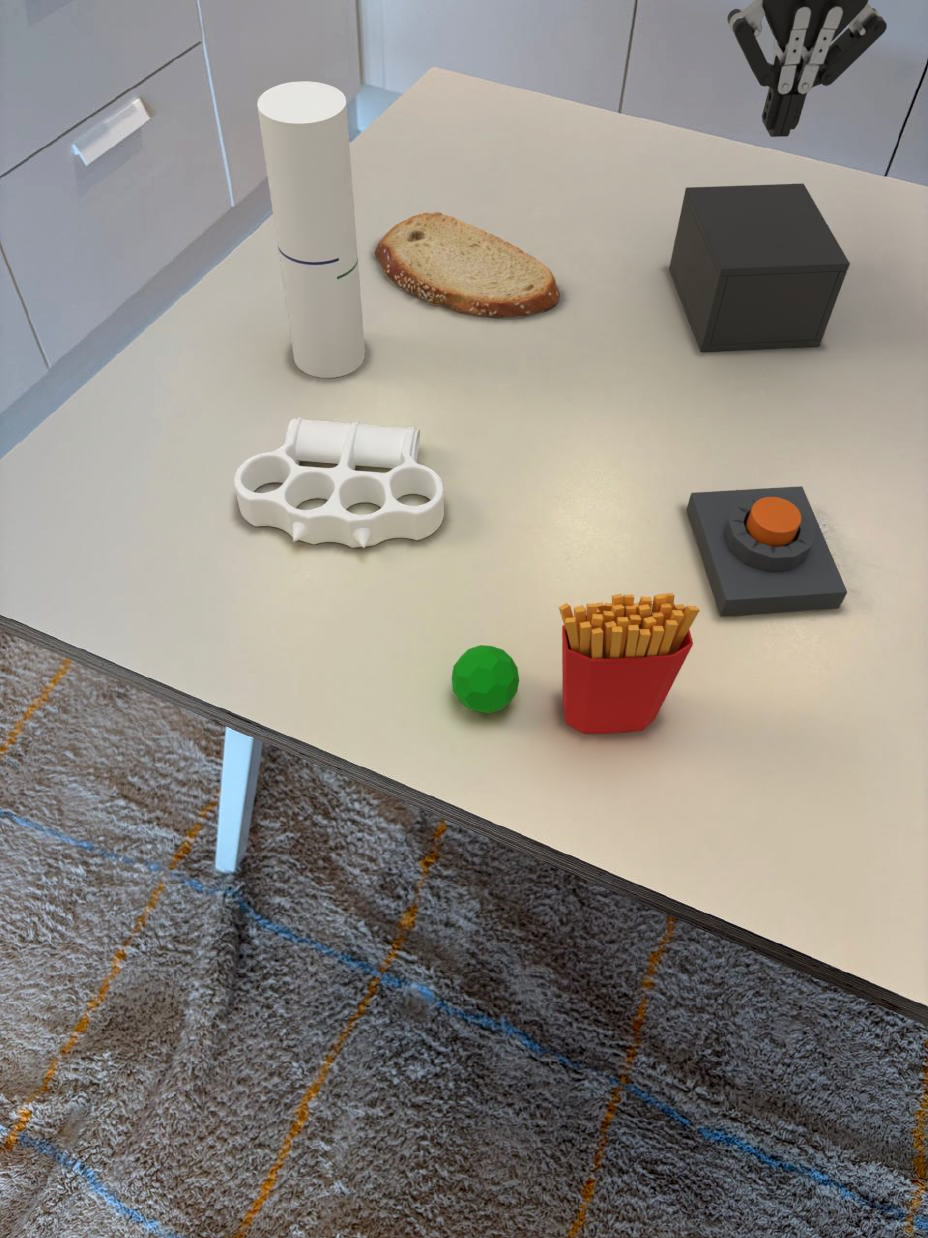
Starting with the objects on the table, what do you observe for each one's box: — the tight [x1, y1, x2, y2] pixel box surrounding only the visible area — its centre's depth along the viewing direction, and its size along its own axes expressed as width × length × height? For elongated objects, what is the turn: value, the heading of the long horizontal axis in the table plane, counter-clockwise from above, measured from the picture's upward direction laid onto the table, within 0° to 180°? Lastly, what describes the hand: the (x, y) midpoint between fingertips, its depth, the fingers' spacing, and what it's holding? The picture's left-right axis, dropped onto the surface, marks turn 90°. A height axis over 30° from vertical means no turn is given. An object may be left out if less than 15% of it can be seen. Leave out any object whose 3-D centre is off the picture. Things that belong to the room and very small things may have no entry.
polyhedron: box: [451, 644, 520, 714], centre depth 74 cm, size 5×5×5 cm
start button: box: [747, 497, 801, 546], centre depth 81 cm, size 4×4×2 cm
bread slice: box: [374, 211, 561, 319], centre depth 108 cm, size 18×18×4 cm
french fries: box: [558, 592, 701, 735], centre depth 70 cm, size 9×4×13 cm, turn 94°
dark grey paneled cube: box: [668, 183, 851, 353], centre depth 103 cm, size 15×13×10 cm
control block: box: [686, 485, 848, 617], centre depth 83 cm, size 12×10×4 cm
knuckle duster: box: [233, 416, 445, 549], centre depth 87 cm, size 3×18×15 cm
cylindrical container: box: [256, 80, 366, 379], centre depth 90 cm, size 7×7×25 cm
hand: (776, 131), depth 86 cm, fingers closed
